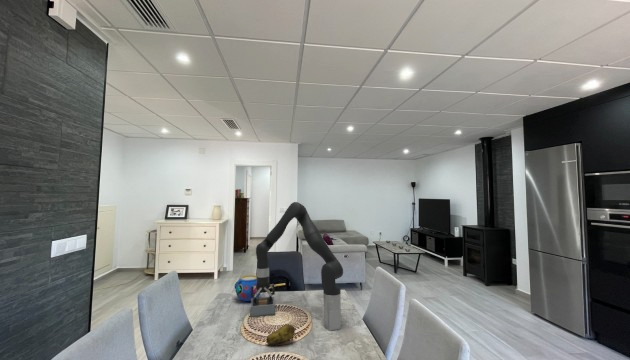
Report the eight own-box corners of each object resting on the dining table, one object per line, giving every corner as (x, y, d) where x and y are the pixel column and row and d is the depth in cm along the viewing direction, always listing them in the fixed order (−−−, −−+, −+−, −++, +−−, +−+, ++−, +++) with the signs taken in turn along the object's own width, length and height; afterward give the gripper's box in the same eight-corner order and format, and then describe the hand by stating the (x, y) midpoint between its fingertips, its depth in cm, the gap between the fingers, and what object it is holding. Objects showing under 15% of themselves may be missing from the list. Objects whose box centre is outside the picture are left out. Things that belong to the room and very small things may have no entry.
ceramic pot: (233, 297, 185) (233, 275, 186) (258, 294, 192) (258, 272, 193) (237, 306, 169) (237, 282, 170) (264, 302, 176) (264, 279, 177)
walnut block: (267, 311, 159) (267, 300, 160) (258, 311, 158) (258, 301, 158) (266, 307, 164) (266, 297, 164) (258, 308, 163) (258, 298, 163)
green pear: (270, 337, 130) (270, 320, 130) (296, 339, 128) (296, 322, 129) (265, 347, 122) (265, 328, 122) (292, 348, 120) (292, 330, 121)
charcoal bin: (275, 315, 155) (275, 304, 156) (250, 317, 153) (250, 306, 153) (273, 306, 169) (273, 296, 170) (251, 308, 166) (251, 298, 167)
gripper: (250, 277, 157) (250, 306, 156) (275, 276, 160) (275, 303, 159) (251, 274, 165) (251, 301, 163) (274, 272, 168) (274, 299, 166)
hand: (262, 302), depth 161 cm, fingers open, 8 cm apart
